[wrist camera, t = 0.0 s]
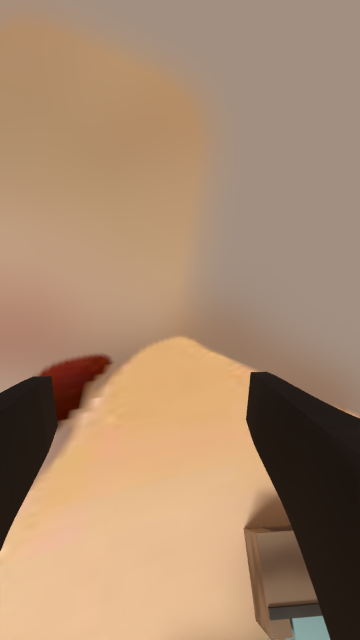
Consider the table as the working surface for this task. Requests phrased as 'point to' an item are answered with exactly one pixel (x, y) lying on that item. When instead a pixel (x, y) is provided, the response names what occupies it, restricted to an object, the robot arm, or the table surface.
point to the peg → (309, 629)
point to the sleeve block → (279, 580)
